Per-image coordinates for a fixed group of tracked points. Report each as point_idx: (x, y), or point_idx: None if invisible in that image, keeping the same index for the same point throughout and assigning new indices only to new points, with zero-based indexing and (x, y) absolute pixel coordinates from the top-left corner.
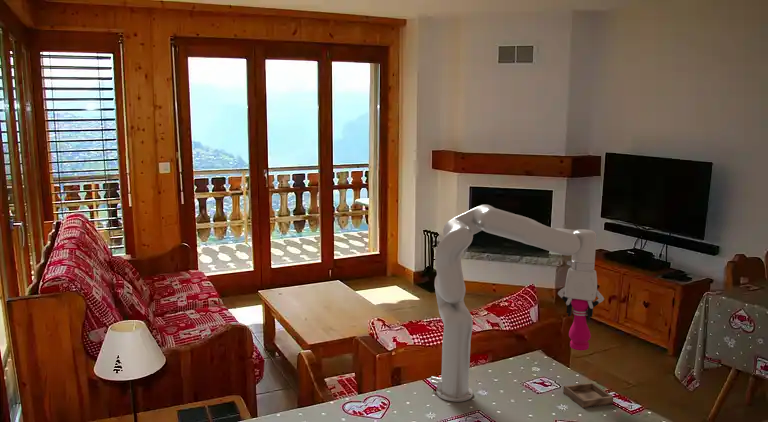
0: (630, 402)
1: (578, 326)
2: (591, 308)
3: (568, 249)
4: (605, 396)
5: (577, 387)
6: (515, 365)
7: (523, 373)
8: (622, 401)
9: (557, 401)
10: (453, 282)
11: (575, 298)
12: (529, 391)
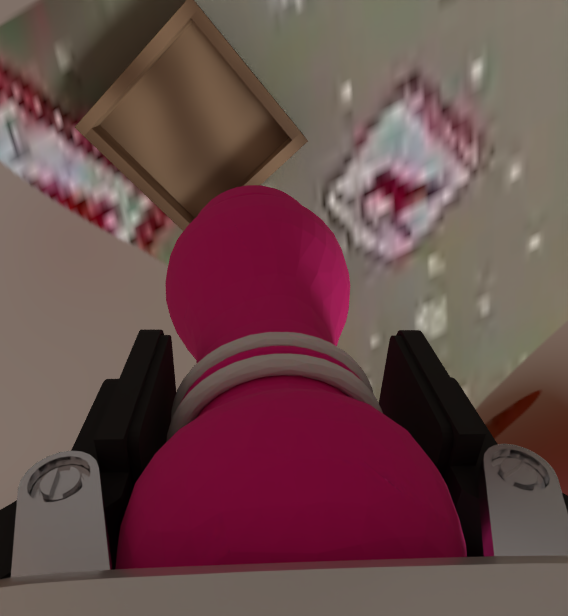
0: (28, 181)
1: (269, 266)
2: (65, 453)
3: None
4: (120, 149)
5: (249, 178)
6: (509, 312)
7: (478, 255)
8: (59, 174)
9: (318, 25)
10: None
11: (441, 566)
12: (451, 78)
